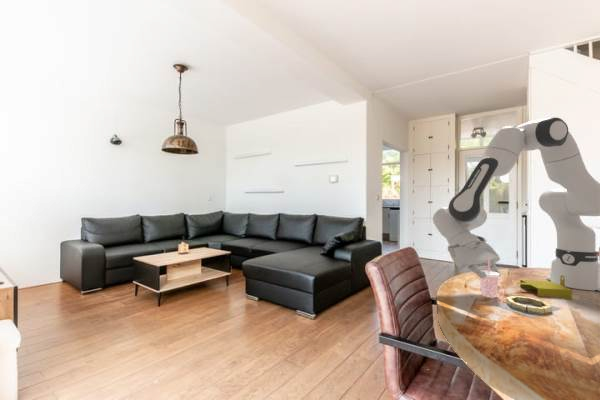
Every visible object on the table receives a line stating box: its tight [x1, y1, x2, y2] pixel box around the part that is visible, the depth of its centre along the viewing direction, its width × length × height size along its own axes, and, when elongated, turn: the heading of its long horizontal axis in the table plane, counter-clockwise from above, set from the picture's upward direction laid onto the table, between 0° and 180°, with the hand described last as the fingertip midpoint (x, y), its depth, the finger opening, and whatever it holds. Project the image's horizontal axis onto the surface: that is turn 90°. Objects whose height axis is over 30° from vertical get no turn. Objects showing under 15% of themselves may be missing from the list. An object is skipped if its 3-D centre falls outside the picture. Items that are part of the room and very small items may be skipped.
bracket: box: [515, 275, 573, 301], centre depth 104 cm, size 16×8×15 cm
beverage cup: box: [479, 258, 500, 299], centre depth 100 cm, size 6×6×14 cm
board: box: [496, 302, 562, 319], centre depth 89 cm, size 16×10×1 cm, turn 115°
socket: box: [505, 295, 553, 315], centre depth 89 cm, size 10×10×2 cm
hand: (490, 276), depth 99 cm, fingers closed on beverage cup, 6 cm apart
